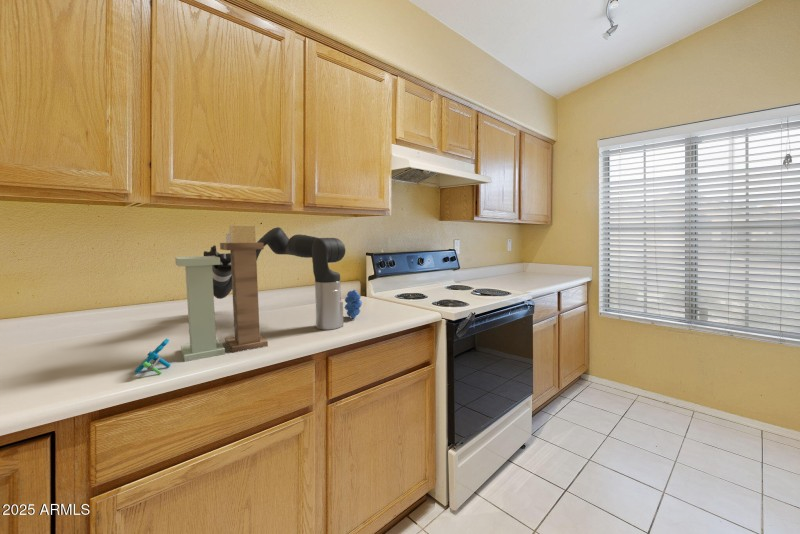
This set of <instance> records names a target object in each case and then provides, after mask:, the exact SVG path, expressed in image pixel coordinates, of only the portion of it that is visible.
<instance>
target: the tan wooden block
mask: <svg viewBox="0 0 800 534" xmlns="http://www.w3.org/2000/svg"><path fill="white" fill-rule="evenodd" d="M228 231H229V233H225V243H256V242H257V241H256V226H255V225H230V226H228Z"/></svg>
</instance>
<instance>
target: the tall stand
mask: <svg viewBox="0 0 800 534" xmlns="http://www.w3.org/2000/svg"><path fill="white" fill-rule="evenodd" d="M257 242H258V241H256V243H226V242H219V250H222V251H230V252H229V253H231V273H232V290H231V291H232V292H231V294H232V307H233V308H232V309H233V311H232V312H233V327H234V336H231V337H225V338H224V342H225V345H226V346H227V347H228V348H229V350H230V351H231V353H238V351H239V352H243V350H244V351H248V350H247V349H249V350H254V349H253V348H255V349H259V348H258V347H260V348H264V347H263V346H266V347H268V346H269V343H268V340H267V339H266V338H264V337H263V336H262V335H261V334H260V312H259V309H260V308H259V290H258V289H259V287H258V270H257V269H258V267H257V266H258V264H257V261H256V249H262V250H264V247H265V246H264V244H263V243H257Z"/></svg>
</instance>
